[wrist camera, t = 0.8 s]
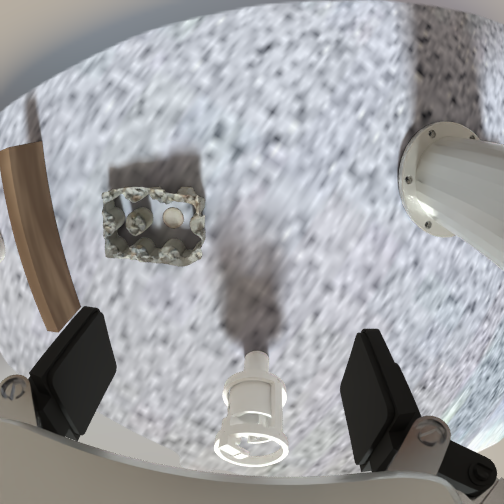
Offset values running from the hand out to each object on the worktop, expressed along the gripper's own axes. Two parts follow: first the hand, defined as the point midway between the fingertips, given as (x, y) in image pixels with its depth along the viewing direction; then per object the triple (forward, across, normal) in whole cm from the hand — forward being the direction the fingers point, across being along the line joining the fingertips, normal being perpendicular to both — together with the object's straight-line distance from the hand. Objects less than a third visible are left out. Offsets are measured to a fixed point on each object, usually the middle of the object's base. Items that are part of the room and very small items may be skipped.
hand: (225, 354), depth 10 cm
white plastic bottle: (+21, -2, +19) cm, 29 cm away
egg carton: (+22, +10, +2) cm, 24 cm away
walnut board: (+21, +24, +4) cm, 33 cm away
